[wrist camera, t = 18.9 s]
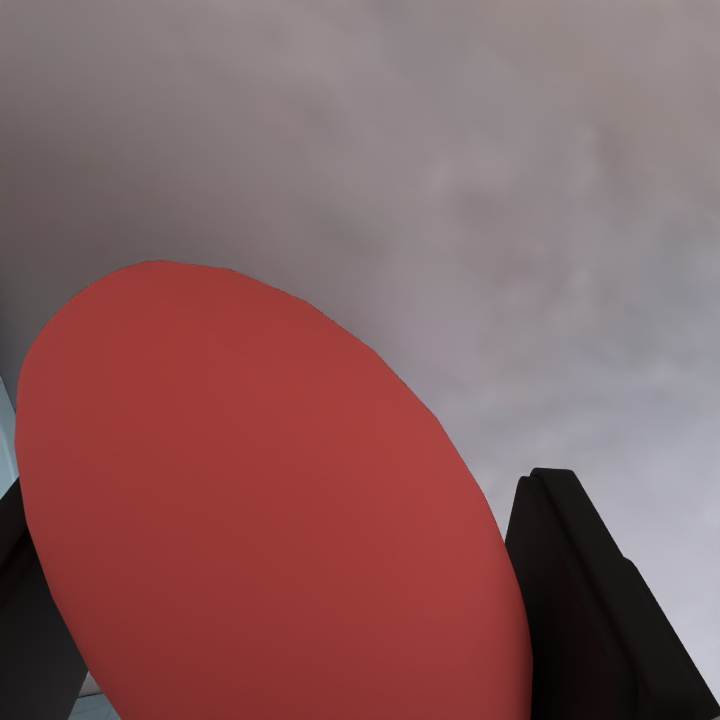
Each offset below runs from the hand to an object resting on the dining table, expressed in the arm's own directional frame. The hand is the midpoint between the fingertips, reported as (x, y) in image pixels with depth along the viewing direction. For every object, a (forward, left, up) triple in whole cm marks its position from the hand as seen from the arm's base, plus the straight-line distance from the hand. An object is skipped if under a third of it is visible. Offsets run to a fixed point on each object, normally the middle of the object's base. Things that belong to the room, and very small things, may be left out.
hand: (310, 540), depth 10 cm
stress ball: (0, 0, -1) cm, 1 cm away
